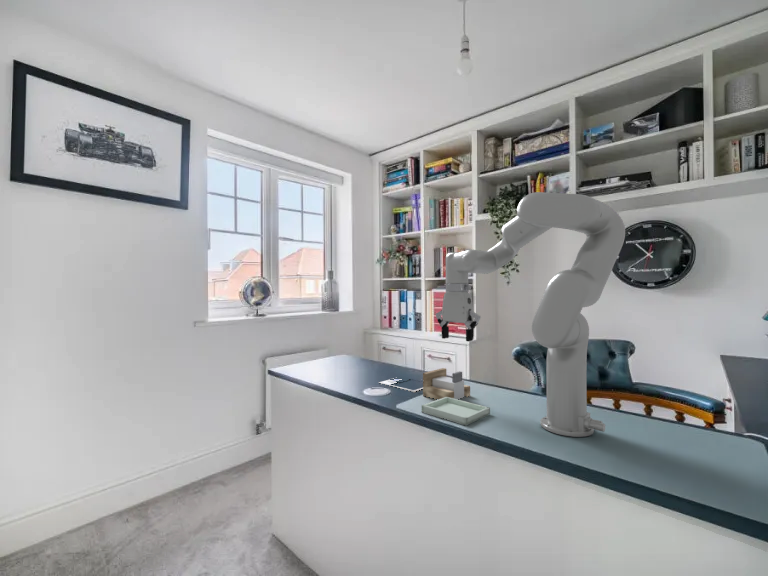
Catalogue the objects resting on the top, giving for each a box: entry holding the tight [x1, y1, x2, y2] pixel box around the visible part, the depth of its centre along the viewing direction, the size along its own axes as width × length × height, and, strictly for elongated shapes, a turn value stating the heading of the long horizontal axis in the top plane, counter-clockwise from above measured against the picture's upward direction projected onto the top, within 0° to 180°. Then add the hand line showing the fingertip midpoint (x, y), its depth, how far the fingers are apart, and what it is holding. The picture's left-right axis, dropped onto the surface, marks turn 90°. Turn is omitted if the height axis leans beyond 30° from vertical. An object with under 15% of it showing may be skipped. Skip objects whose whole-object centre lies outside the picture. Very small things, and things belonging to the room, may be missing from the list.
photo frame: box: [378, 378, 423, 393], centre depth 142 cm, size 15×1×18 cm
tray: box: [421, 397, 491, 426], centre depth 108 cm, size 16×13×2 cm
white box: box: [432, 371, 465, 400], centre depth 126 cm, size 9×6×9 cm, turn 45°
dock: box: [422, 367, 471, 400], centre depth 126 cm, size 12×12×8 cm
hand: (457, 339), depth 123 cm, fingers open, 9 cm apart
